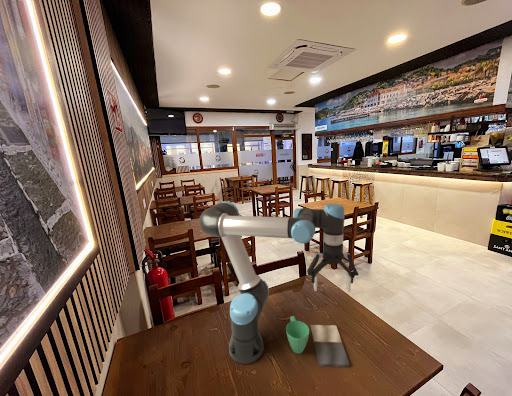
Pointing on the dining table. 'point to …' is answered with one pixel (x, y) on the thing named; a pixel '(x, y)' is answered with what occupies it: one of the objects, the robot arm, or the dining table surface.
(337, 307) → the dining table surface
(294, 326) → the mug
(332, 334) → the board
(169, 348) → the dining table surface
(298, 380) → the dining table surface
